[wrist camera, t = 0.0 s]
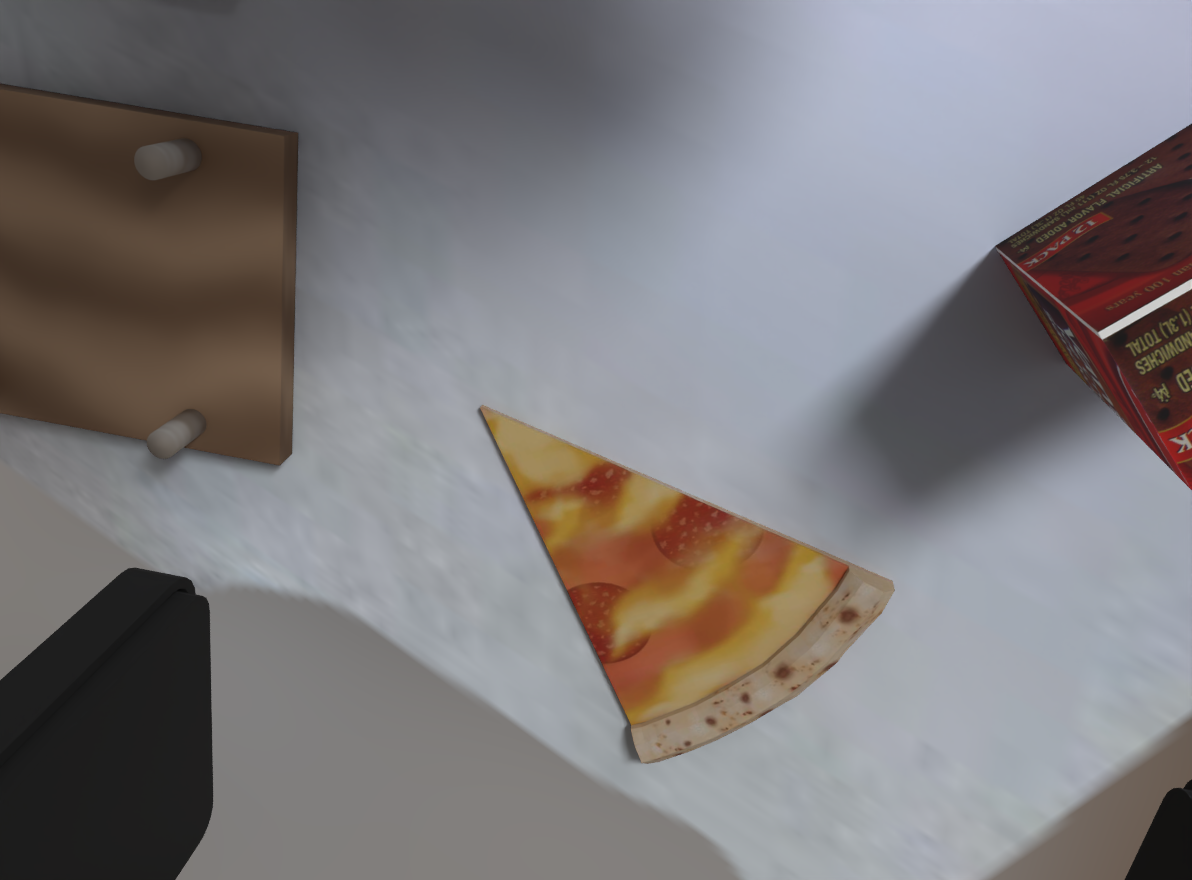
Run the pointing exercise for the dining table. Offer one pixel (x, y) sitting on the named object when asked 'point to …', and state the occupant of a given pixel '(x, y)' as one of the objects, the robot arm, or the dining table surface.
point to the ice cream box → (1123, 292)
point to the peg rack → (147, 274)
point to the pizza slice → (685, 593)
